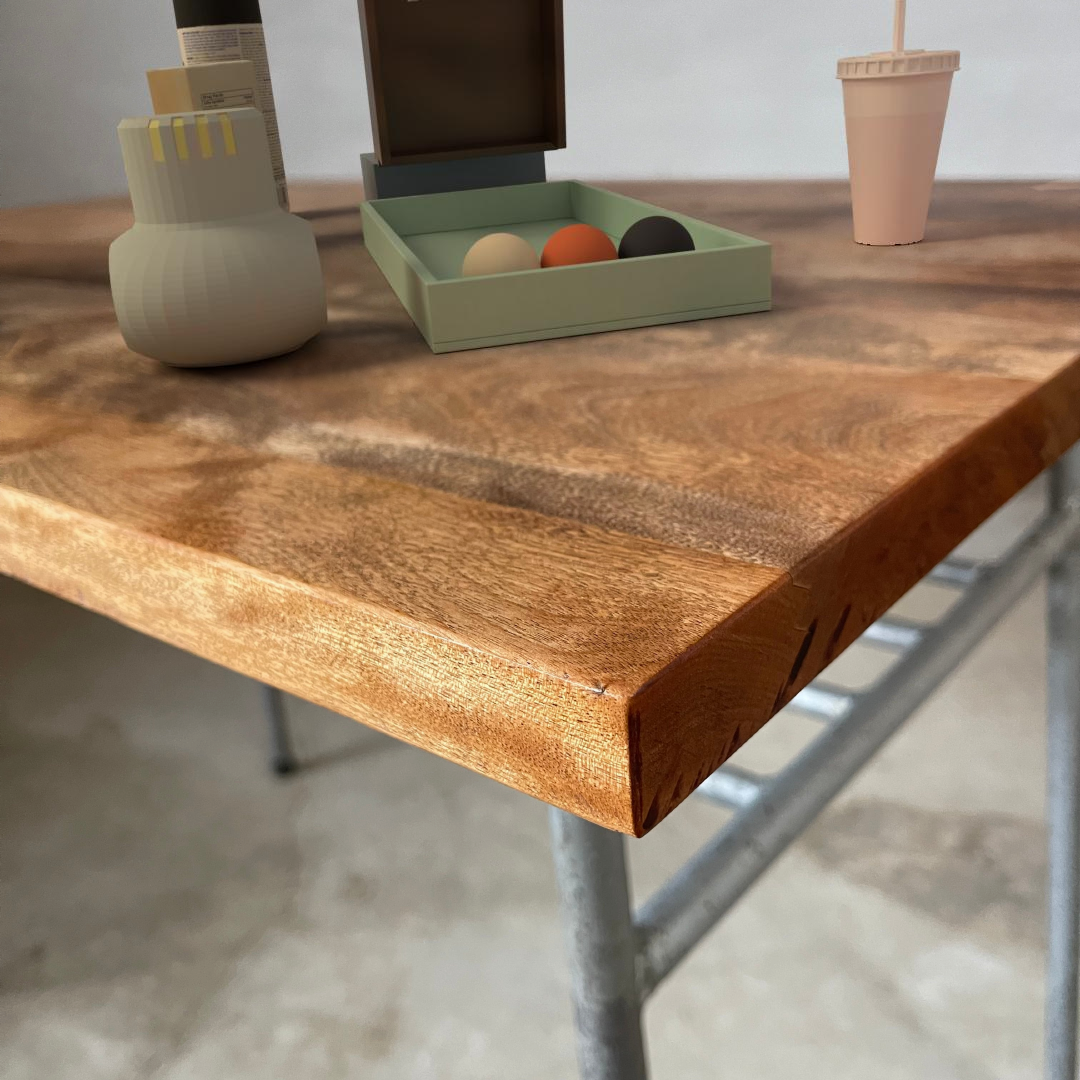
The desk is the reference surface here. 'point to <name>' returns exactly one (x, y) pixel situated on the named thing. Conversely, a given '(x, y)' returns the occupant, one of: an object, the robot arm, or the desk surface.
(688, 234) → the ball charcoal
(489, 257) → the ball cream
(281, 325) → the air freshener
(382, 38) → the wooden display box
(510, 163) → the stand
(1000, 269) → the desk surface
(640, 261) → the tray
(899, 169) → the smoothie
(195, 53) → the spray can
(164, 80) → the cosmetic box
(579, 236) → the ball terracotta
